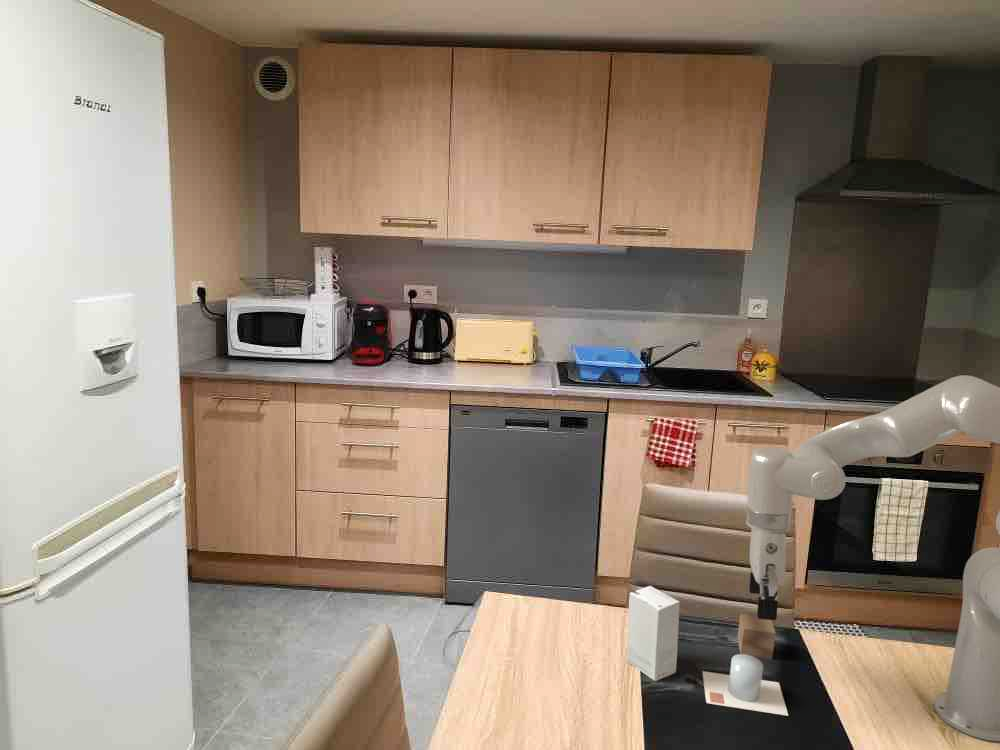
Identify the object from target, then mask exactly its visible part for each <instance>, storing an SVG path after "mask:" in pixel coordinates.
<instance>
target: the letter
mask: <svg viewBox="0 0 1000 750" xmlns="http://www.w3.org/2000/svg"><path fill="white" fill-rule="evenodd" d="M701 673H702V680H703V687H704V695H705V696H704V697H705V702H706V704H711V705H715V706H716V705H717V706H721V707H722V706H724V707H727V708H735V709H736V708H737V709H741V710H748V711H756V712H759V713H761V712H762V713H768V714H769V713H770V714H774V715H781V716H787V717H788V716H789V714H788V709H787V706H786V703H785V699H784V696H783V695H784V694H783V692H782V689H781V685H780V682H777V681H771V680H766V679H765V680H764V679H762V680H761V687H760V695H759V698H758V699H757V700H756V701H743V700H739V699H737V698H735V697H733V696H732V695H731V694H730V693H729V691H728V685H729V677H730V674H725V673H717V672H710V671H703V670H702V672H701Z"/></svg>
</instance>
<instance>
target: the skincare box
mask: <svg viewBox="0 0 1000 750" xmlns="http://www.w3.org/2000/svg"><path fill="white" fill-rule="evenodd" d="M680 605H681V603H680V601H679V600H678V599H675V598H673V597H672V596H669V594H666V593H664V592H662V591H661V590H659V589H657V588H655V587H653V586H652V585H648V586H645V587H643V588H640V589H637V590H634V591H631V592H629V600H628V617H627V618H628V620H627V623H628V624H627V641H626V642H627V643H626V644H627V645H626V660H625V661H626V662H627V663H628V664H629V665H631V666H633V667H634V668H636V669H637V670H638V671H640V672H641V673H643V674H644V675H646V676H647V677H649V678H650V679H652V680H653V681H654V682H657V681H659V680H661V679H664V678H667V677H670V676H672V675H673V674H676V672H677V665H678V664H677V662H678V661H677V660H678V641H679V623H680V622H679V621H680V620H679V619H680Z"/></svg>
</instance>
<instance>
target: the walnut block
mask: <svg viewBox="0 0 1000 750" xmlns="http://www.w3.org/2000/svg"><path fill="white" fill-rule="evenodd" d="M739 614H740V615H739V622H738V631H737V645H738V649H739V653H740V654H745V655H750V656H753V657H755V658H758V659H765V660H767V659H768V660H773V654H774V647H775V641H776V634H777V633H776V630H775V626H774V625H773V620H765V619H758V617H757V615H751V614H745V613H739Z"/></svg>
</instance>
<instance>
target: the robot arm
mask: <svg viewBox="0 0 1000 750" xmlns="http://www.w3.org/2000/svg"><path fill="white" fill-rule="evenodd" d="M963 432H964V433H966V434H967V435H970V436H971V437H973V438H976V439H980V440H983V441H988V442H990V443H995V444H999V445H1000V386H997V385H994V384H992V383H990V382H988V381H986V380H984V379H981V378H980V377H979V378H978V377H976V376H973V375H967V374H965V375H964V374H963V375H958V376H954V377H951V378H948V379H946V380H944V381H942V382H940V383H938V384H936V385H934V386H932V387H930V388H928V389H926V390H924V391H922V392H920V393H917V394H916V395H914V396H912V397H910V398H908V399H907V400H904V401H902V402H900V403H898V404H896V405H893V406H892V407H890V408H887V409H885V410H883V411H881V412H878V413H875V414H872V415H871V414H870V415H868V416H867V415H866V416H864V417H860V418H857V419H854V420H850V421H847V422H842V423H841V424H837V425H834V426H832V427H830V428H827V429H826V430H824V431H822V432H820V433H818V434H816V435H814V436H812V437H810V438H808V439H806V440H805V441H803V442H801V443H800V444H799V445H798V446H796V447H795V448H794V450H793V451H792V452H790V451H788V450H785V449H782V448H777V447H761V448H760V447H759V448H757V449H755V450H754V451H753V452H752V453H751V454H750V459H749V472H748V473H749V474H748V484H747V485H748V487H747V488H748V489H747V501H746V502H747V503H746V515H745V516H746V518H745V522H746V525H747V526H748V527H749V528H751V531H750V540H749V541H750V543H749V544H750V545H749V564H750V568H751V571H750V572H749V573H750V575H749V588H748V591H749V593H750V594H755V595H756V594H757V595H759V596H757V597H758V600H757V613H756V616H757V617H758V619H765V620H772V621H776V620H777V617H778V614H777V613H778V604H779V597H778V595H779V594H778V593H779V592H778V586H780V587H784V585H786V566H787V565H786V564H787V562H786V561H787V538H786V537H787V536H786V532H788V531H790V529H791V524H792V511H793V499H794V498H793V497H794V495H795V496H800V497H804V498H809V499H813V500H820V501H823V500H824V501H825V500H831V499H833V498H836V497H838V496H839V495H840V494H842V492H843V491H844V489H845V486H846V474H845V472H844V470H843V468H842V467H845V466H847V465H849V464H851V463H854V462H857V461H859V460H863V459H867V458H873V457H874V458H875V457H890V458H907V457H912V456H914V455H916V454H919V453H920V452H922V451H925V450H927V449H928V448H931V447H933V446H935V445H937V444H939V443H941V442H944V441H946V440H948V439H950V438H952V437H954V436H956V435H958V434H960V433H963ZM995 528H996V530H997V533H998V535H999V536H1000V510H999V511H998V513H997V516H996V519H995ZM954 644H955V645H954V651H953V654H952V655H953V656H952V659H951V660H952V662H951V667H950V672H949V679H948V683H947V688H946V691H945V692H941V693H939V694H937V695H936V696H935V698H934V702H933V706H934V710H935V712H936V714H937V715H938V716H939V717H940V718H941V720H943V721H944V722H945V723H946V724H948V725H949V726H951V727H953V728H954V729H956V730H957V731H959V732H961V733H964V734H966V735H968V736H971V737H974V738H977V739H980V740H985V741H990V742H1000V547H997V546H995V547H993V546H992V547H985V548H982V549H980V550H978V551H976V552H974V553H973V554H972V555H971V556H970V557H969V559H968V560H967V561H966V563H965V567H964V569H963V575H962V605H961V613H960V618H959V624H958V629H957V635H956V640H955V643H954Z"/></svg>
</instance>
